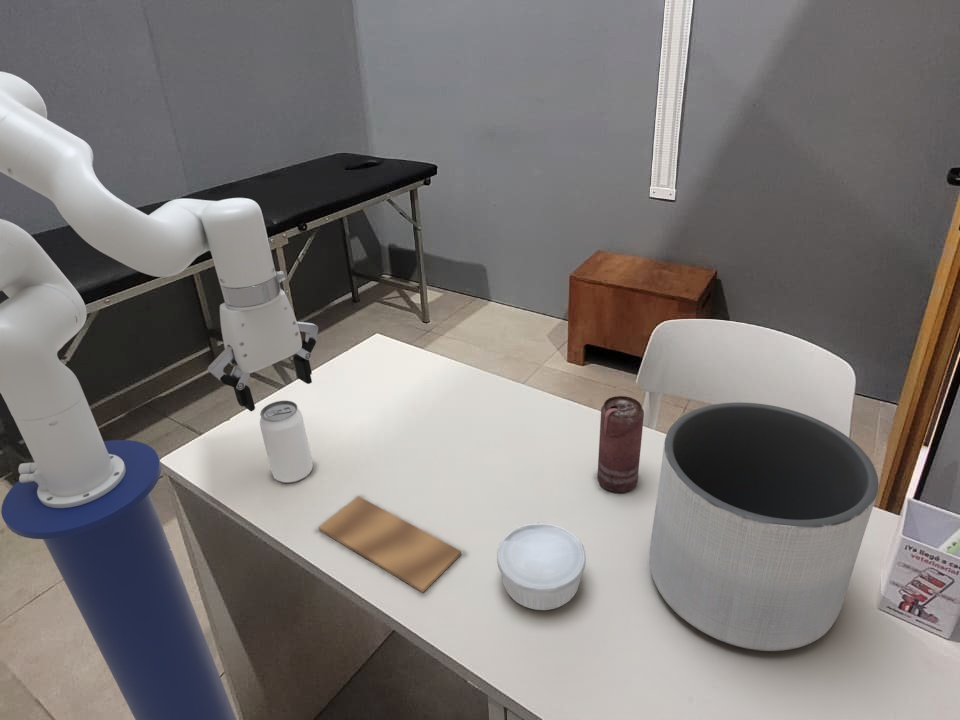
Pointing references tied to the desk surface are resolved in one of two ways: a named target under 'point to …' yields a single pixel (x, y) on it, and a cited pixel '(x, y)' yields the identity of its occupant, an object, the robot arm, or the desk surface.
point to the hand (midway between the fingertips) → (277, 393)
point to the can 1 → (286, 441)
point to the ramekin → (541, 565)
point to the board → (391, 543)
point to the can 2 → (620, 443)
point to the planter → (759, 523)
